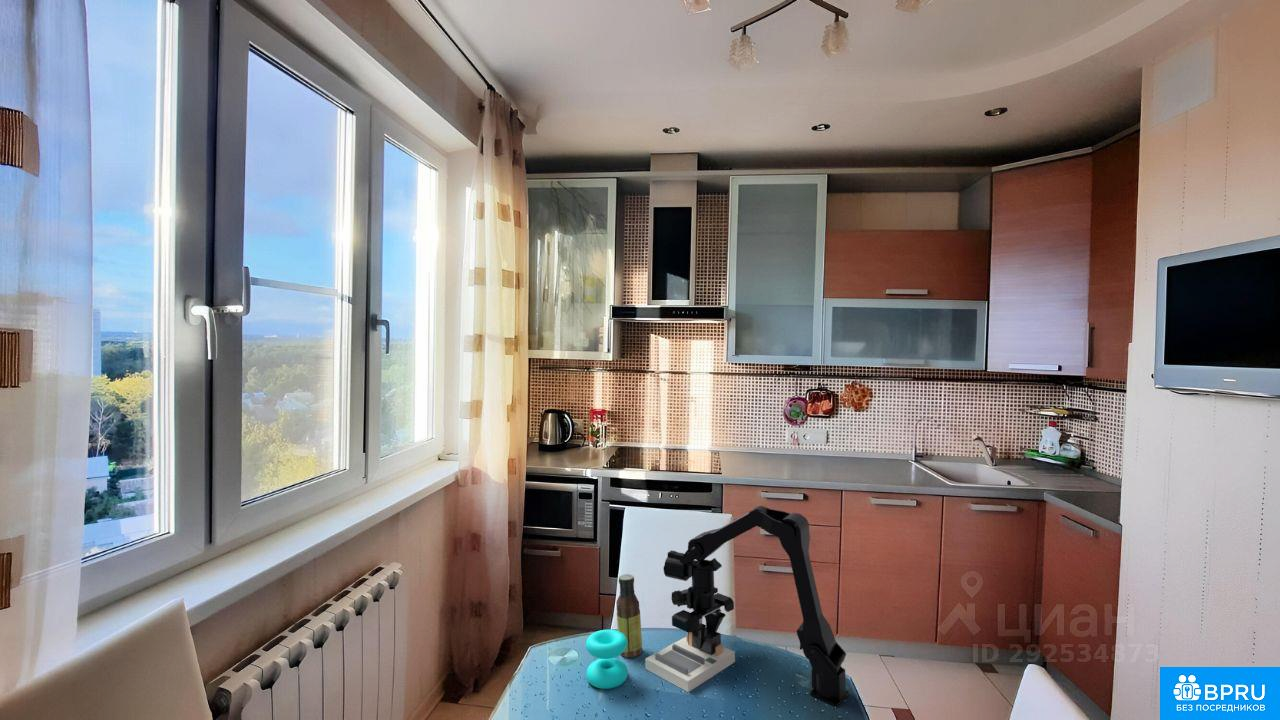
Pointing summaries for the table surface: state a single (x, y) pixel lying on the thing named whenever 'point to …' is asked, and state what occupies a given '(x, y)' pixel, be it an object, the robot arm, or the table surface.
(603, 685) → the donuts
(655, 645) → the table surface
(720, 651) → the cradle
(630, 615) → the sauce bottle
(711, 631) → the battery
